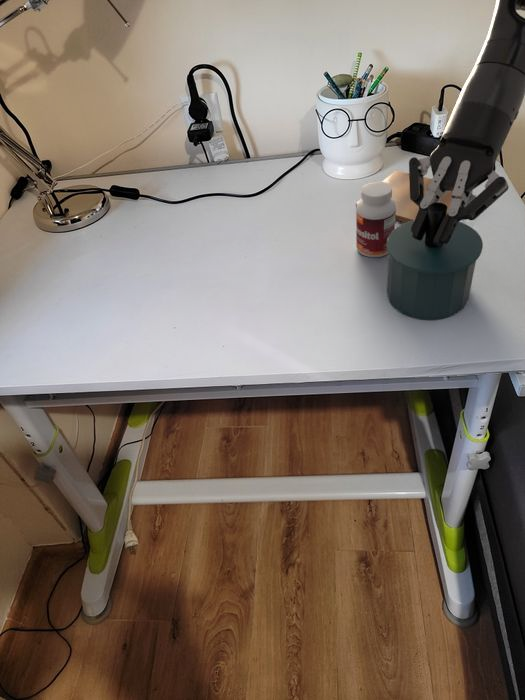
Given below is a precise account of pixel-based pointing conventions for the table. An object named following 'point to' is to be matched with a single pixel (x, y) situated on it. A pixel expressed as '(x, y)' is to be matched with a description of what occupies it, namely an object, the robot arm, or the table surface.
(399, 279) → the pot
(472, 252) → the lid
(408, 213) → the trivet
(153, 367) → the table surface
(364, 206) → the pill bottle
